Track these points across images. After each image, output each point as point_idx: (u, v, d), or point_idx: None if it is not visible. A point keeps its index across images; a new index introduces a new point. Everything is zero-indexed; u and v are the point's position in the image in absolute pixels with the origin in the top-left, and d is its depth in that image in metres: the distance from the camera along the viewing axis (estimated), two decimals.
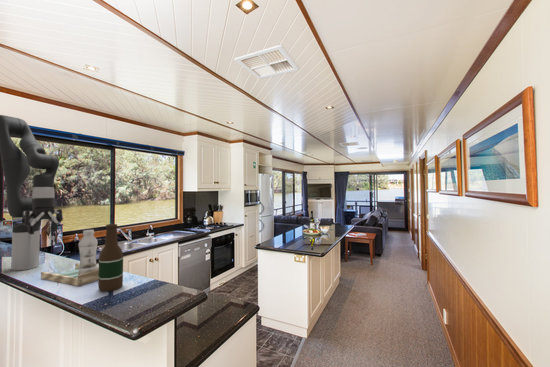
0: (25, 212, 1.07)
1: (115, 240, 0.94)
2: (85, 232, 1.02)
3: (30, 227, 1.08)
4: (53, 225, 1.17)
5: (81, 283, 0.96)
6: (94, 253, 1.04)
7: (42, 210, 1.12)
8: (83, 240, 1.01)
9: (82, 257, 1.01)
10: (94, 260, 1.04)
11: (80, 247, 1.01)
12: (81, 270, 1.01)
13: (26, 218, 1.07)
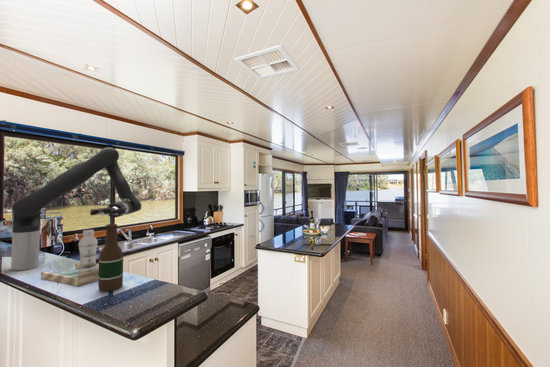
0: (126, 211, 1.25)
1: (115, 240, 0.94)
2: (85, 232, 1.02)
3: (116, 213, 1.19)
4: (95, 212, 1.17)
5: (81, 283, 0.96)
6: (94, 253, 1.04)
7: None
8: (83, 240, 1.01)
9: (82, 257, 1.01)
10: (94, 260, 1.04)
11: (80, 247, 1.01)
12: (81, 270, 1.01)
13: (124, 213, 1.23)
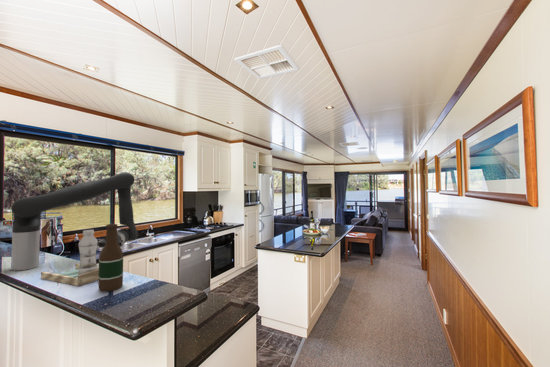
0: None
1: (115, 240, 0.94)
2: (85, 232, 1.02)
3: None
4: None
5: (81, 283, 0.96)
6: (94, 253, 1.04)
7: None
8: (83, 240, 1.01)
9: (82, 257, 1.01)
10: (94, 260, 1.04)
11: (80, 247, 1.01)
12: (81, 270, 1.01)
13: (120, 246, 1.19)
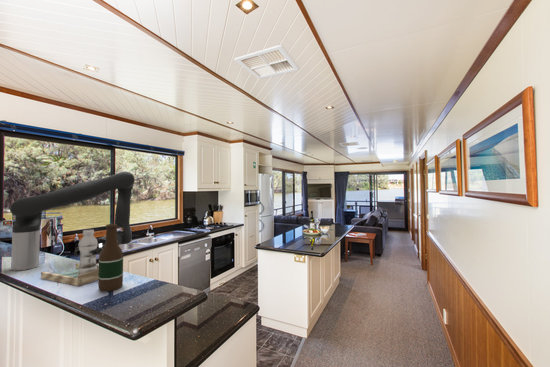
0: None
1: (115, 240, 0.94)
2: (85, 232, 1.02)
3: (99, 252, 1.05)
4: None
5: (81, 283, 0.96)
6: None
7: None
8: (83, 240, 1.01)
9: (82, 257, 1.01)
10: (94, 260, 1.04)
11: (80, 247, 1.01)
12: (81, 270, 1.01)
13: None
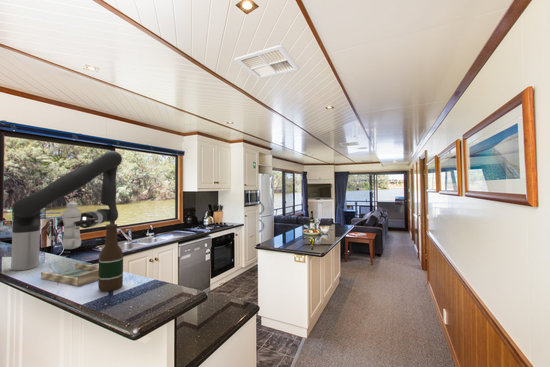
0: (97, 222, 1.16)
1: (115, 240, 0.94)
2: (68, 204, 1.06)
3: (82, 224, 1.09)
4: None
5: (81, 283, 0.96)
6: None
7: None
8: (66, 212, 1.05)
9: (66, 228, 1.06)
10: (78, 231, 1.08)
11: (63, 218, 1.05)
12: (65, 241, 1.05)
13: (93, 224, 1.14)
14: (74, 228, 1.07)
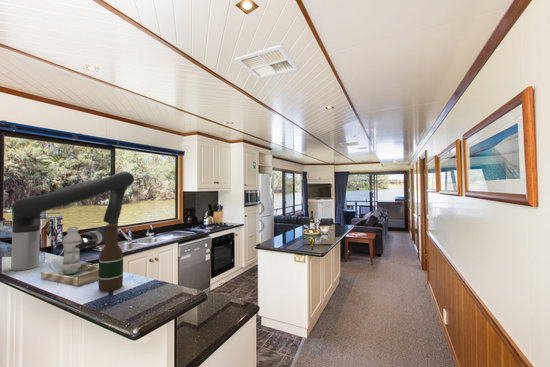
0: (98, 243, 1.17)
1: (115, 240, 0.94)
2: (69, 229, 1.07)
3: (85, 246, 1.10)
4: (62, 246, 1.08)
5: (81, 283, 0.96)
6: (77, 250, 1.08)
7: None
8: (67, 237, 1.06)
9: (66, 253, 1.05)
10: (77, 256, 1.08)
11: (64, 244, 1.05)
12: (64, 266, 1.05)
13: (94, 245, 1.14)
14: (74, 253, 1.07)
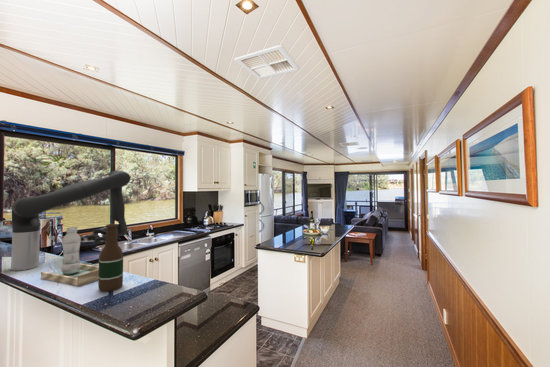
0: None
1: (115, 240, 0.94)
2: (68, 229, 1.06)
3: (100, 240, 1.23)
4: None
5: (81, 283, 0.96)
6: (77, 250, 1.08)
7: None
8: (66, 237, 1.05)
9: (65, 253, 1.05)
10: (77, 256, 1.08)
11: (63, 244, 1.05)
12: (64, 266, 1.05)
13: None
14: (74, 253, 1.07)
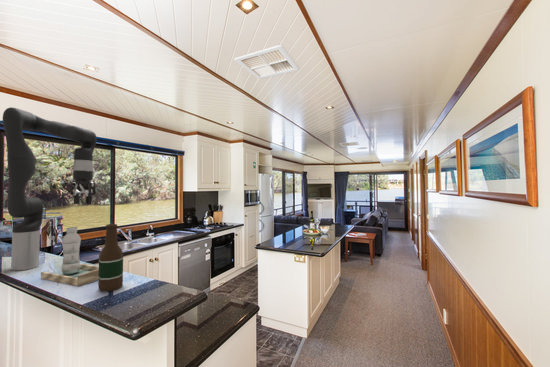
0: (93, 183, 1.16)
1: (115, 240, 0.94)
2: (68, 229, 1.06)
3: None
4: (77, 198, 1.19)
5: (81, 283, 0.96)
6: (77, 250, 1.08)
7: None
8: (66, 237, 1.05)
9: (65, 253, 1.05)
10: (77, 256, 1.08)
11: (63, 244, 1.05)
12: (64, 266, 1.05)
13: None
14: (74, 253, 1.07)
